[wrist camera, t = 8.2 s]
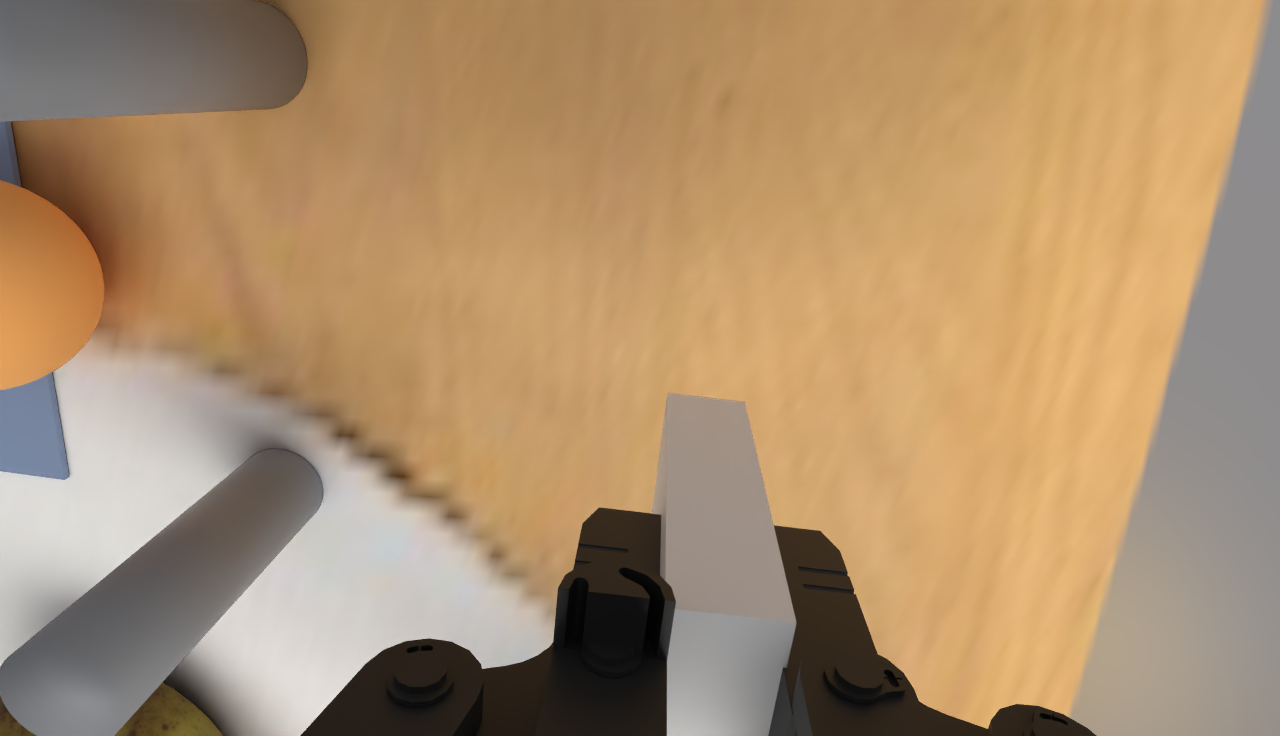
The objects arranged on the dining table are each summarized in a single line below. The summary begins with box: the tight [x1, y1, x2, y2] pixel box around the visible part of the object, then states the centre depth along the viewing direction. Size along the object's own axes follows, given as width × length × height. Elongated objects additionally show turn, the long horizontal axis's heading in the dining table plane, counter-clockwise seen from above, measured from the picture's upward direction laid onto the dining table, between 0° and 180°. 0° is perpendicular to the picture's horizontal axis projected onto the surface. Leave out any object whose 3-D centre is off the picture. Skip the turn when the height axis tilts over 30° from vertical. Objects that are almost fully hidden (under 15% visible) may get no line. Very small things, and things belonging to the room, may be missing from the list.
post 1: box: [0, 0, 307, 122], centre depth 16 cm, size 3×3×9 cm
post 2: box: [0, 449, 323, 736], centre depth 20 cm, size 3×3×9 cm
